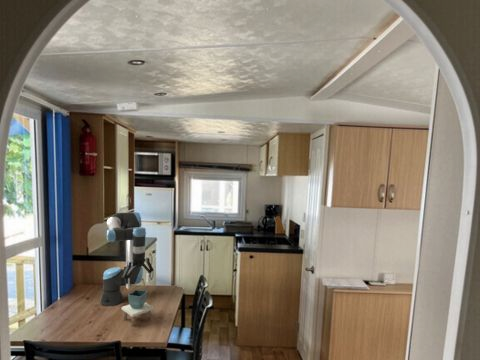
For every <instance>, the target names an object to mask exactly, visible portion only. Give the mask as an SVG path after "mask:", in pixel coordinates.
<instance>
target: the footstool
mask: <svg viewBox="0 0 480 360" xmlns="http://www.w3.org/2000/svg"><path fill="white" fill-rule="evenodd" d="M121 310H122V311H123V321H127V320H128V315H129V316H130V317H131V327H135V326H136V317H137V316H139V315H141V316H142V315H143V314H145V313H147V314H146V315H147V318H146V319H147V321H151V319H152V318H151V317H152V311H153V310H154V306H152V305H150V303H147V302H146V301H145V303H144V305H143V306H142V307H141V308H140V309H136V308H132V307H131V306H130V304H129V303H128V304H127V305H123V306H121Z"/></svg>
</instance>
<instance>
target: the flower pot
mask: <svg viewBox="0 0 480 360" xmlns="http://www.w3.org/2000/svg"><path fill="white" fill-rule="evenodd" d="M147 296H148V290H141V289H135V290H133V291H132V292H130V293H128V294H127V297H128V298H127V299H128V305H129V304H130V306H131V307H132V308H136V309H140V308H141V307H142V306H143V305H144V303H145V302H146V301H147Z"/></svg>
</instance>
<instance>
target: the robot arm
mask: <svg viewBox="0 0 480 360" xmlns="http://www.w3.org/2000/svg"><path fill="white" fill-rule="evenodd" d="M106 226H107V228H108V230H106V242H112V243H114V242H121V241H122V242H124V241H125V265H124V266H123V269H122V268H121V267H117V266H116V267H110V268H108V269H106V270H104V272H103V277H102V280H103V281H102V293H101V295H100V299H99V304H100V305H101V306H104V307H110V306H116V305H119V304H121V303H122V302H123V300H124V295H123V294H122V290H121V289H122V288H121V287H124V286H125V288H126V289H127V290H130V286H132V285H137V284H138V285H139V284H140V283H141V282H142V279H143V272H144V271H143V269H144V270H145V271H146V275H145V276H146V277H145V282H146V283H147V284H150V278H151V276H152V272H154V268H153V266H152V264H151V261H150V258H149V257H146V235H147V232H146V228H145V227H142V226H143V225H142V216H141V214H140V212H134V211H133V212H118V213H114V214H112V215H110V216H109V217H108V218H107V220H106ZM145 262H146V264H147V265H146V264H145Z"/></svg>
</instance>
